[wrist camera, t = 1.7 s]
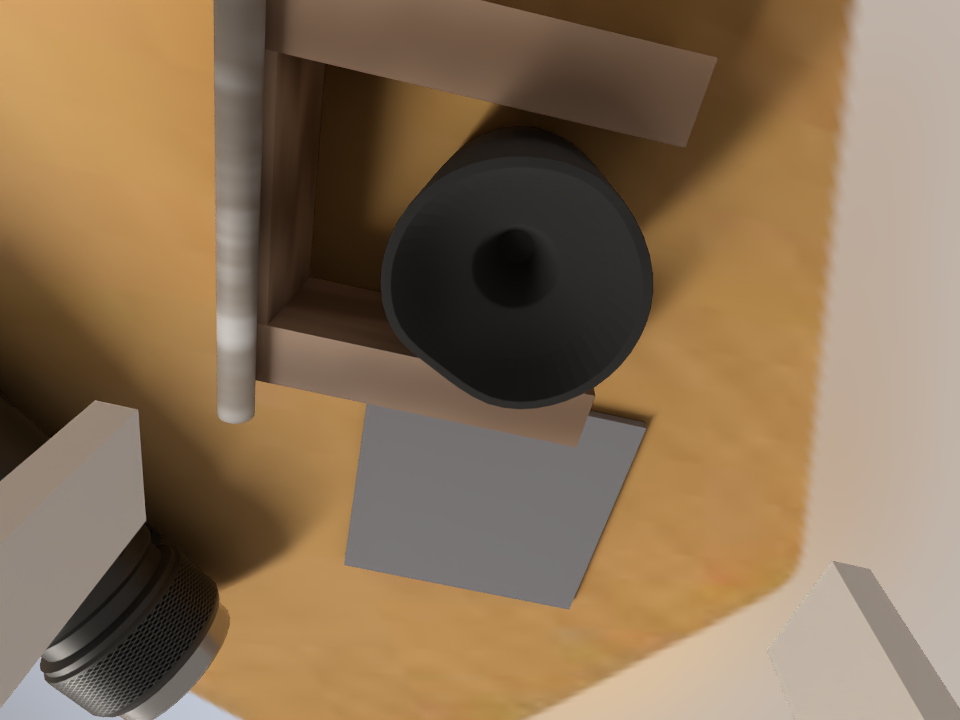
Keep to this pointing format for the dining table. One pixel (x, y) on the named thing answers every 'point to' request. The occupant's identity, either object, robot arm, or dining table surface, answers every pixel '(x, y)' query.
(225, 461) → the dining table surface
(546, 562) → the mat
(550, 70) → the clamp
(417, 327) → the pen holder
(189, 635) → the muzzle brake
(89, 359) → the dining table surface
